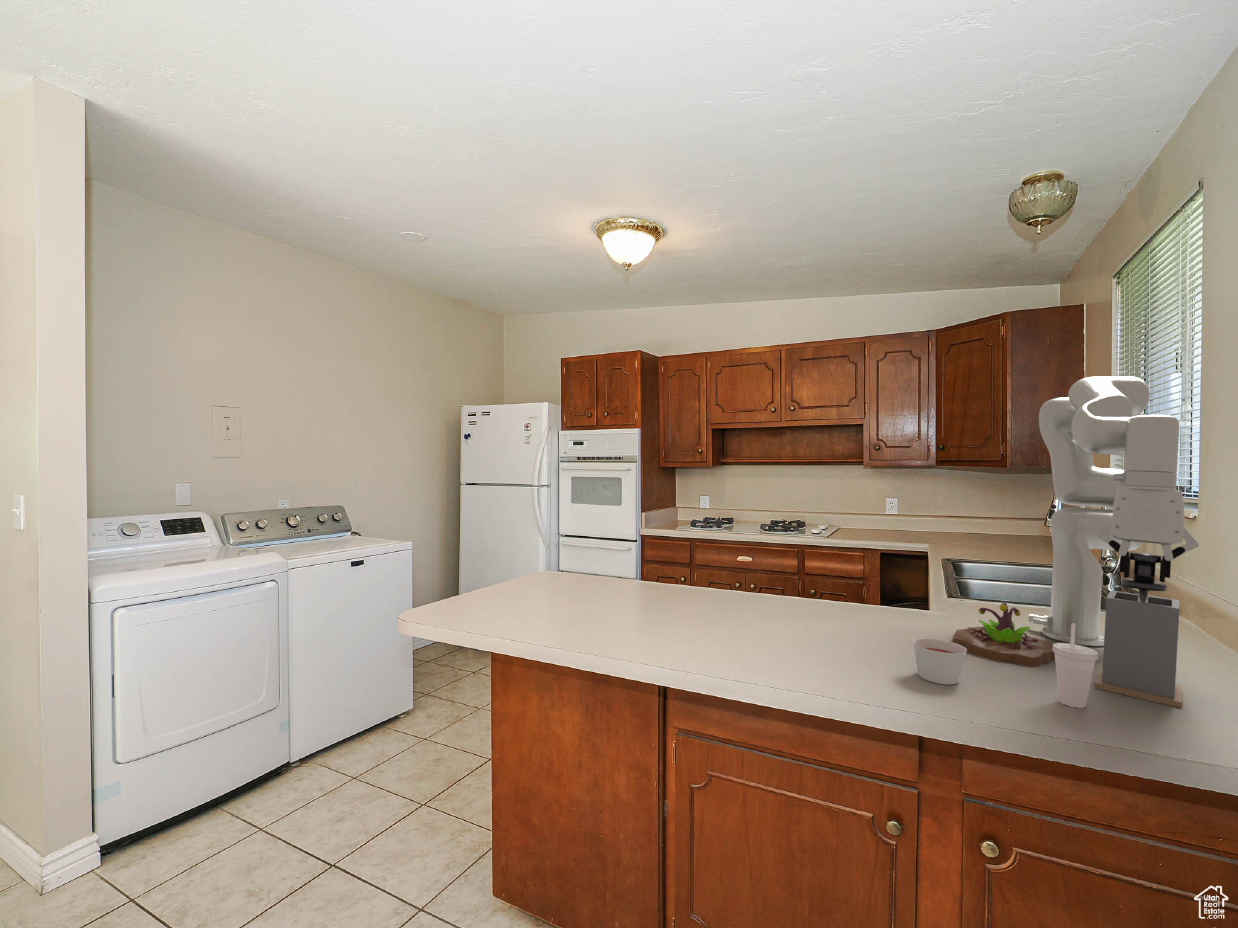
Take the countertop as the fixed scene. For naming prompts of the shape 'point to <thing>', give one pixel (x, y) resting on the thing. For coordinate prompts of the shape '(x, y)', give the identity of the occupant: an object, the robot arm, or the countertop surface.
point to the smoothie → (1074, 671)
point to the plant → (1004, 641)
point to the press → (1141, 648)
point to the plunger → (1144, 575)
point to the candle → (939, 660)
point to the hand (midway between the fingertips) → (1144, 577)
